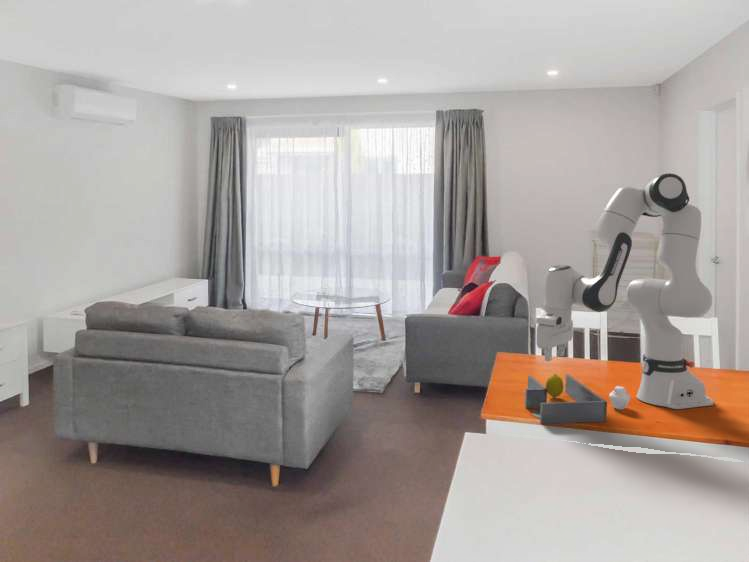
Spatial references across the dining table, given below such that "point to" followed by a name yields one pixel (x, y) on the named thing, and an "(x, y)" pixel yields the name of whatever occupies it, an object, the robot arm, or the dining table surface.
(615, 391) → the white rounded piece
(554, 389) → the lemon
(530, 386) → the rail corridor
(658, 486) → the dining table surface
